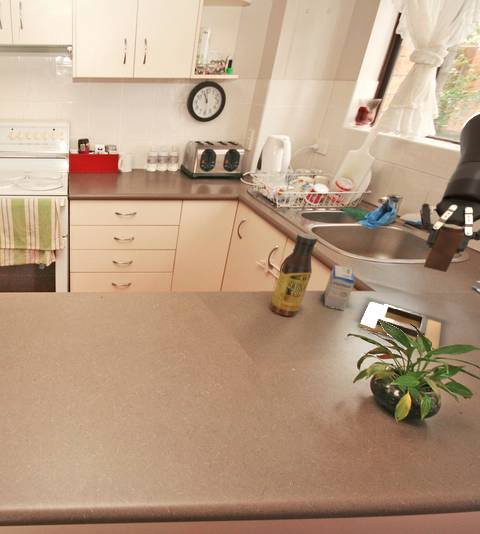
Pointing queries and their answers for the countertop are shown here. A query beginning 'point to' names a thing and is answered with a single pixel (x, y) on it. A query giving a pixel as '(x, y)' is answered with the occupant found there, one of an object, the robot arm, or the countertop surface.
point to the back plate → (401, 322)
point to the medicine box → (339, 287)
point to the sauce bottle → (294, 277)
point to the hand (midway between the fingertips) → (444, 248)
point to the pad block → (444, 248)
